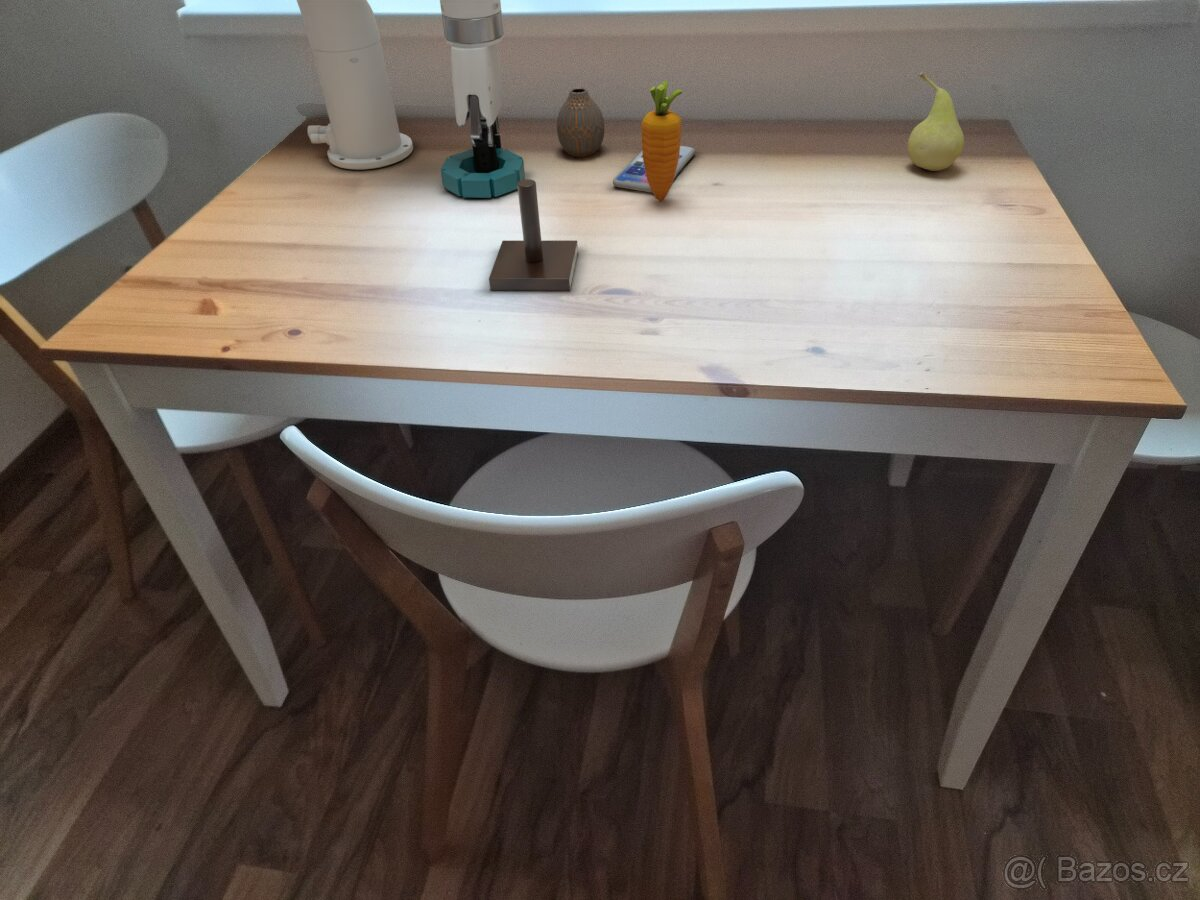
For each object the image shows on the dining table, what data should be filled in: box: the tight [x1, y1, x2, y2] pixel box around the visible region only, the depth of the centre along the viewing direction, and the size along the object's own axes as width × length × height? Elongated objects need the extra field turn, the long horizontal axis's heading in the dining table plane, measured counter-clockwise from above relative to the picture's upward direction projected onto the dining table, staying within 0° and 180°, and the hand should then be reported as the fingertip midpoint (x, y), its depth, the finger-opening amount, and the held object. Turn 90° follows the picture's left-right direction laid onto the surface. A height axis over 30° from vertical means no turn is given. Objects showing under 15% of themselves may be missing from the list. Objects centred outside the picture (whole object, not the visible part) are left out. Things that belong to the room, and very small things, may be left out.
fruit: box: [906, 71, 965, 172], centre depth 106 cm, size 7×8×12 cm
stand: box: [488, 178, 579, 292], centre depth 90 cm, size 9×9×10 cm
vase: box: [556, 87, 605, 158], centre depth 116 cm, size 7×7×9 cm
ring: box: [440, 147, 526, 199], centre depth 111 cm, size 11×11×2 cm
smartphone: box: [612, 145, 696, 194], centre depth 113 cm, size 7×1×15 cm
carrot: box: [640, 80, 683, 203], centre depth 100 cm, size 5×5×15 cm
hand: (489, 167), depth 115 cm, fingers closed on ring, 2 cm apart
